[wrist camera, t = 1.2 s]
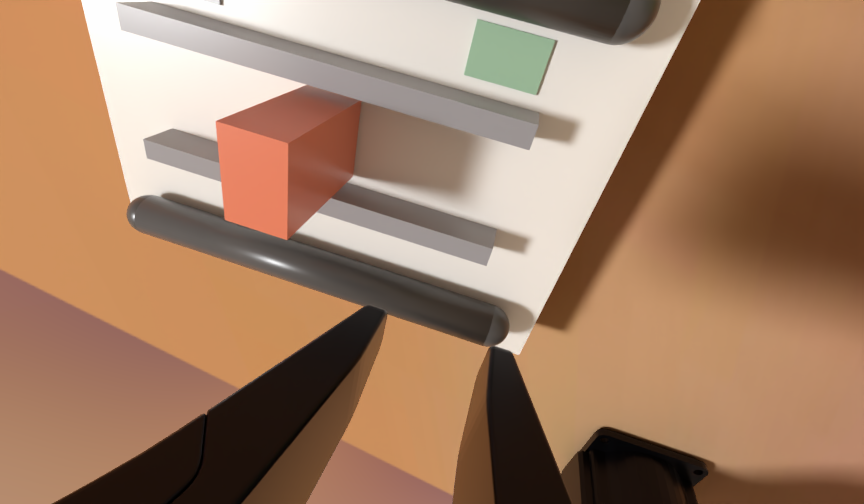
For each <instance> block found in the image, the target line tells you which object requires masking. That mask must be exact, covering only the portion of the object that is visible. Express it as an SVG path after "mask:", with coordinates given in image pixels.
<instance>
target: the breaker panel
mask: <svg viewBox="0 0 864 504" xmlns="http://www.w3.org/2000/svg"><path fill="white" fill-rule="evenodd" d="M81 1H82V5H83V9H84V13H85V17H86V22H87V26H88V30H89V34H90V38H91V42H92V46H93V50H94V54H95V59H96V63H97V67H98V71H99V75H100V79H101V83H102V87H103V91H104V95H105V100H106V104H107V108H108V112H109V116H110V120H111V124H112V128H113V132H114V137H115V141H116V145H117V149H118V153H119V157H120V161H121V165H122V169H123V174H124V178H125V182H126V186H127V190H128V194H129V198H130V202H131V203H130V204H129V206H128V209H127V218H128V221H129V223H130V224H131V226H132V227H133V228H135V229H136V230H138V231H140V232H142V233H145V234H148V235H151V236H154V237H157V238H160V239H163V240H166V241H169V242H172V243H175V244H178V245H181V246H184V247H187V248H190V249H193V250H196V251H199V252H202V253H205V254H208V255H211V256H214V257H217V258H220V259H223V260H226V261H229V262H232V263H235V264H238V265H241V266H244V267H247V268H250V269H253V270H256V271H259V272H262V273H265V274H268V275H271V276H274V277H277V278H280V279H283V280H286V281H289V282H292V283H295V284H298V285H301V286H304V287H307V288H310V289H313V290H316V291H319V292H322V293H325V294H328V295H331V296H334V297H337V298H340V299H343V300H346V301H349V302H352V303H355V304H358V305H361V306H366V305H373V306H376V307H379V308H382V309H385V310H386V311H387V314H388V315H391V316H394V317H397V318H400V319H404V320H407V321H410V322H413V323H416V324H419V325H422V326H425V327H428V328H431V329H434V330H437V331H440V332H443V333H446V334H449V335H452V336H455V337H458V338H461V339H464V340H467V341H470V342H473V343H476V344H479V345H482V346H486V347H491V346H497V347H500V348H503V349H506V350H509V351H511V352H512V353H514V354H517V355H519V354H520V352H521V350H522V348H523V346H524V344H525V342H526V340H527V338H528V336H529V334H530V332H531V330H532V329H533V327H534V325H535V323H536V321H537V319H538V317H539V315H540V313H541V311H542V309H543V307H544V305H545V303H546V301H547V299H548V297H549V295H550V293H551V291H552V289H553V288H554V286H555V284H556V282H557V280H558V278H559V276H560V274H561V272H562V270H563V268H564V266H565V264H566V262H567V260H568V258H569V256H570V254H571V252H572V250H573V248H574V247H575V245H576V243H577V241H578V239H579V237H580V235H581V233H582V231H583V229H584V227H585V225H586V223H587V221H588V219H589V217H590V215H591V213H592V211H593V209H594V207H595V206H596V204H597V202H598V200H599V198H600V196H601V194H602V192H603V190H604V188H605V186H606V184H607V182H608V180H609V178H610V176H611V174H612V172H613V170H614V168H615V166H616V165H617V163H618V161H619V159H620V157H621V155H622V153H623V151H624V149H625V147H626V145H627V143H628V141H629V139H630V137H631V135H632V133H633V131H634V129H635V127H636V125H637V123H638V122H639V120H640V118H641V116H642V114H643V112H644V110H645V108H646V106H647V104H648V102H649V100H650V98H651V96H652V94H653V92H654V90H655V88H656V86H657V84H658V82H659V81H660V79H661V77H662V75H663V73H664V71H665V69H666V67H667V65H668V63H669V61H670V59H671V57H672V55H673V53H674V51H675V49H676V47H677V45H678V43H679V41H680V40H681V38H682V36H683V34H684V32H685V30H686V28H687V26H688V24H689V22H690V20H691V18H692V16H693V14H694V12H695V10H696V8H697V6H698V4H699V2H700V0H81ZM305 85H309V86H313V87H316V88H319V89H323V90H326V91H330V92H333V93H336V94H340V95H343V96H347V97H350V98H353V99H357V100H360V101H361V110H360V119H359V128H358V137H357V146H356V155H355V164H354V173H353V177H352V178H351V179H350V180H349V181H348V182H347V183H346V184H345V185H344V186H343V187H342V188H341V189H340V190H339V191H337V192H336V193H335V194H334V195H333V196H332V197H331V198H330V199H329V200H328V201H327V202H326V203H325V204H324V205H323V206H322V207H321V208H320V209H319V210H318V211H317V212H316V213H315V214H314V215H313V216H312V217H311V218H310V219H309V220H308V221H307V222H306V223H305V224H303V225H302V226H301V227H300V228H299V229H298V230H297V231H296V232H295V233H294V234H293V235H292V236H291V237H290V238H289V239H288V240H285V239H282V238H279V237H276V236H273V235H269V234H266V233H263V232H260V231H257V230H254V229H251V228H248V227H245V226H242V225H239V224H236V223H233V222H229V221H226V220H225V217H224V207H223V196H222V185H221V174H220V164H219V153H218V142H217V132H216V121H217V120H219V119H222V118H224V117H227V116H230V115H232V114H235V113H237V112H240V111H242V110H245V109H247V108H250V107H252V106H255V105H257V104H260V103H262V102H265V101H267V100H270V99H272V98H275V97H277V96H280V95H282V94H285V93H287V92H290V91H293V90H295V89H298V88H300V87H303V86H305Z"/></svg>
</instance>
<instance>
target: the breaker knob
mask: <svg viewBox="0 0 864 504" xmlns="http://www.w3.org/2000/svg"><path fill="white" fill-rule="evenodd" d="M360 110H361V101H360V100H357V99H353V98H350V97H347V96H343V95H340V94H336V93H333V92H330V91H326V90H323V89H319V88H316V87H313V86H309V85H305V86H303V87H300V88H298V89H295V90H293V91H290V92H287V93H285V94H282V95H280V96H277V97H275V98H272V99H270V100H267V101H265V102H262V103H260V104H257V105H255V106H252V107H250V108H247V109H245V110H242V111H240V112H237V113H235V114H232V115H230V116H227V117H224V118H222V119H219V120H217V121H216V132H217V142H218V153H219V164H220V174H221V185H222V196H223V207H224V217H225V220H226V221H229V222H233V223H236V224H239V225H242V226H245V227H248V228H251V229H254V230H257V231H260V232H263V233H266V234H269V235H273V236H276V237H279V238H282V239H285V240H288V239H289V238H290V237H291V236H292V235H293V234H294V233H295V232H296V231H297V230H298V229H299V228H300V227H301V226H302V225H303V224H305V223H306V222H307V221H308V220H309V219H310V218H311V217H312V216H313V215H314V214H315V213H316V212H317V211H318V210H319V209H320V208H321V207H322V206H323V205H324V204H325V203H326V202H327V201H328V200H329V199H330V198H331V197H332V196H333V195H334V194H335V193H336V192H337V191H339V190H340V189H341V188H342V187H343V186H344V185H345V184H346V183H347V182H348V181H349V180H350V179H351V178H352V177H353V173H354V164H355V155H356V146H357V137H358V128H359V119H360Z"/></svg>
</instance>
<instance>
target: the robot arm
mask: <svg viewBox="0 0 864 504" xmlns="http://www.w3.org/2000/svg"><path fill="white" fill-rule="evenodd" d="M386 319H387V311H386V310H385V309H382V308H379V307H376V306H373V305H366V306H364V307H363V308H361V309H360V310H358V311H357V312H355V313H354V314H352V315H351V316H349V317H348V318H346V319H345V320H343V321H342V322H340V323H339V324H337V325H336V326H334V327H333V328H331V329H330V330H328V331H327V332H325V333H324V334H322V335H321V336H319V337H318V338H316V339H315V340H313V341H312V342H310V343H309V344H307V345H306V346H304V347H303V348H301V349H300V350H298V351H297V352H295V353H294V354H292V355H291V356H289V357H288V358H286V359H285V360H283V361H282V362H280V363H279V364H277V365H276V366H274V367H273V368H271V369H270V370H268V371H267V372H265V373H264V374H262V375H261V376H259V377H258V378H256V379H255V380H253V381H251V382H250V383H248V384H247V385H245V386H244V387H242V388H241V389H239V390H238V391H236V392H235V393H233V394H232V395H231V396H229V397H228V398H226V399H224V400H223V401H221V402H220V403H218V404H217V405H215V406H214V407H212V408H211V409H209V410H208V412H207V415H205V414H201V415H200V416H198V417H197V418H195V419H194V420H192V421H191V422H189V423H188V424H186V425H185V426H184V427H182V428H180V429H179V430H178V431H176V432H174V433H173V434H171V435H170V436H168V437H166V438H165V439H163V440H162V441H160V442H158V443H157V444H155V445H154V446H152V447H150V448H149V449H147V450H146V451H144V452H143V453H141V454H139V455H138V456H136V457H134V458H132V459H131V460H129V461H127V462H125V463H124V464H122V465H120V466H119V467H117V468H115V469H113V470H112V471H110V472H108V473H106V474H105V475H103V476H101V477H99V478H98V479H96V480H94V481H92V482H90V483H89V484H87V485H85V486H83V487H82V488H80V489H78V490H76V491H74V492H72V493H71V494H69V495H67V496H65V497H63V498H62V499H60V500H58V501H56V502H54V503H52V504H306V502H307V501H308V499H309V497H310V495H311V493H312V491H313V489H314V488H315V486H316V484H317V482H318V480H319V478H320V477H321V475H322V473H323V471H324V469H325V467H326V465H327V463H328V461H329V460H330V458H331V456H332V454H333V452H334V451H335V449H336V447H337V445H338V443H339V441H340V440H341V438H342V436H343V434H344V432H345V430H346V428H347V426H348V424H349V422H350V420H351V418H352V416H353V414H354V411H355V409H356V407H357V404H358V402H359V399H360V397H361V394H362V391H363V389H364V386H365V384H366V381H367V379H368V376H369V374H370V371H371V369H372V366H373V364H374V361H375V359H376V356H377V354H378V351H379V349H380V346H381V343H382V339H383V334H384V329H385V324H386ZM707 475H708V469H707V466H706V464H705V463H703V462H701V461H699V460H696V459H693V458H690V457H687V456H684V455H681V454H678V453H675V452H672V451H669V450H666V449H663V448H660V447H657V446H654V445H651V444H648V443H646V442H643V441H640V440H637V439H634V438H631V437H628V436H625V435H622V434H619V433H616V432H613V431H610V430H607V429H599V430H597V431H596V432H595V433H594V434H593V435H592V437H591V438H590V439H589V440H588V442H587V443H586V444H585V445H584V447H583V448H582V449H581V450H580V451H579V452H577V453H576V454H575V456H574V457H573V458H572V459H571V461H570V462H569V463H568V464H567V466H566V467H565V468H564V469H563V471H562V474H561V473H560V471H559V468H558V466H557V463H556V461H555V458H554V456H553V453H552V451H551V448H550V446H549V443H548V441H547V438H546V436H545V433H544V431H543V428H542V426H541V423H540V421H539V418H538V416H537V413H536V411H535V408H534V406H533V403H532V401H531V398H530V396H529V393H528V391H527V388H526V386H525V383H524V381H523V378H522V376H521V373H520V371H519V368H518V366H517V363H516V361H515V358H514V356H513V354H512V352H511V351H509V350H506V349H503V348H500V347H497V346H491V347H490V348H489V349H488V351H487V354H486V356H485V358H484V361H483V363H482V365H481V367H480V370H479V372H478V375H477V378H476V381H475V385H474V390H473V394H472V398H471V402H470V407H469V411H468V415H467V419H466V424H465V428H464V432H463V436H462V441H461V445H460V450H459V455H458V461H457V468H456V477H455V485H454V494H453V503H452V504H698V502H697V499H696V495H695V492H694V489H693V486H695V485H696V484H697V483H698V482H699V481H701V480H702V479H703V478H704V477H706V476H707Z"/></svg>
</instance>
